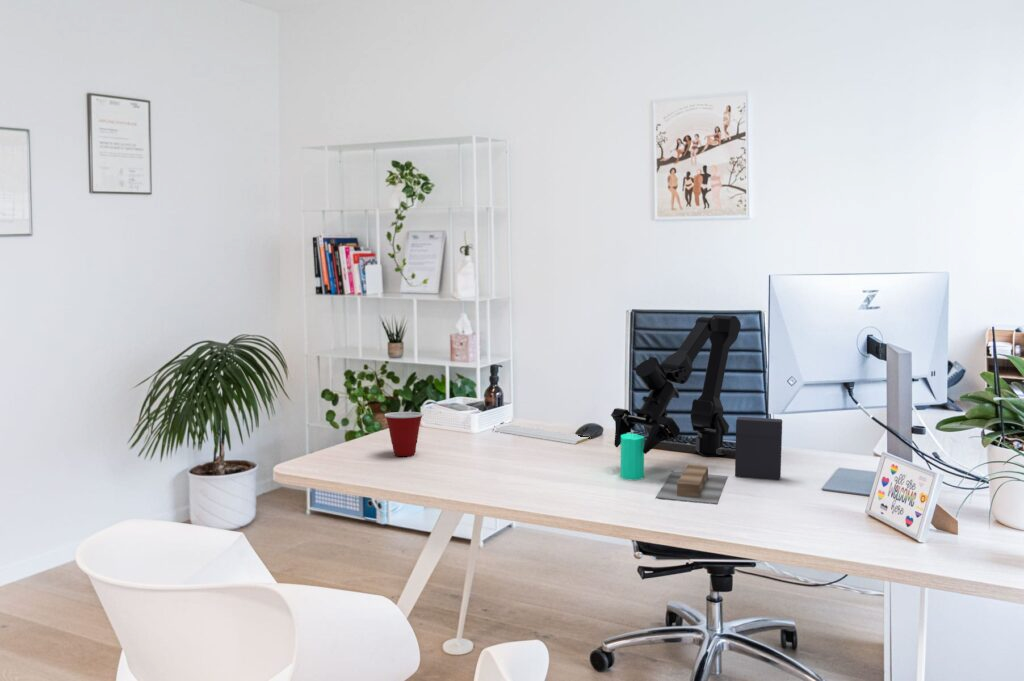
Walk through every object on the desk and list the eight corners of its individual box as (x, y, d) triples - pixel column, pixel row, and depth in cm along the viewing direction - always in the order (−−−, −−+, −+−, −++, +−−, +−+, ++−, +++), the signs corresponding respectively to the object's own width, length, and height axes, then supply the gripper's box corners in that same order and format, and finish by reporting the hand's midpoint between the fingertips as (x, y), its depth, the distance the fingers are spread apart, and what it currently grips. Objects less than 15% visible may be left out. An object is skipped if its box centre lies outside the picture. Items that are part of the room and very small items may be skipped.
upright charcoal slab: (780, 476, 221) (782, 418, 219) (780, 481, 217) (781, 421, 215) (736, 473, 225) (737, 415, 223) (734, 477, 221) (736, 419, 219)
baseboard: (572, 447, 255) (590, 441, 263) (572, 438, 255) (590, 432, 263) (491, 434, 273) (510, 428, 281) (491, 425, 273) (510, 420, 281)
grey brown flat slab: (671, 472, 226) (672, 459, 225) (727, 477, 221) (727, 464, 221) (655, 498, 203) (655, 484, 203) (717, 504, 199) (717, 490, 198)
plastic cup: (425, 449, 252) (424, 408, 250) (422, 459, 241) (421, 416, 239) (387, 450, 251) (386, 409, 250) (383, 459, 240) (382, 416, 239)
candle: (618, 473, 225) (618, 428, 223) (641, 473, 225) (641, 427, 224) (623, 480, 219) (623, 433, 217) (646, 479, 219) (647, 432, 218)
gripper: (700, 424, 224) (673, 474, 218) (642, 414, 238) (615, 461, 232) (682, 398, 218) (653, 448, 212) (624, 389, 232) (596, 436, 226)
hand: (629, 449), depth 220 cm, fingers open, 9 cm apart
